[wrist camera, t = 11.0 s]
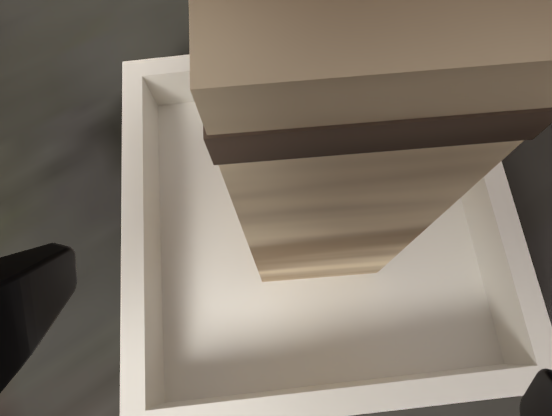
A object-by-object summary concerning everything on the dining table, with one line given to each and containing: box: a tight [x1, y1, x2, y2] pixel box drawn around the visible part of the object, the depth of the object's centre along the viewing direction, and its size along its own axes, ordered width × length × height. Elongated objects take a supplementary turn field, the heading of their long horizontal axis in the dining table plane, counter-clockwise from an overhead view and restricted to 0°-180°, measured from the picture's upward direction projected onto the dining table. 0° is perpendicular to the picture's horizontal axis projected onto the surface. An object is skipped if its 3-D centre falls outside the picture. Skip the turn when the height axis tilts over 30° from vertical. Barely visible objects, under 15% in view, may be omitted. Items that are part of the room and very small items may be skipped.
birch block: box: [189, 0, 552, 282], centre depth 11 cm, size 5×5×13 cm
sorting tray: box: [120, 54, 552, 416], centre depth 17 cm, size 14×14×3 cm
